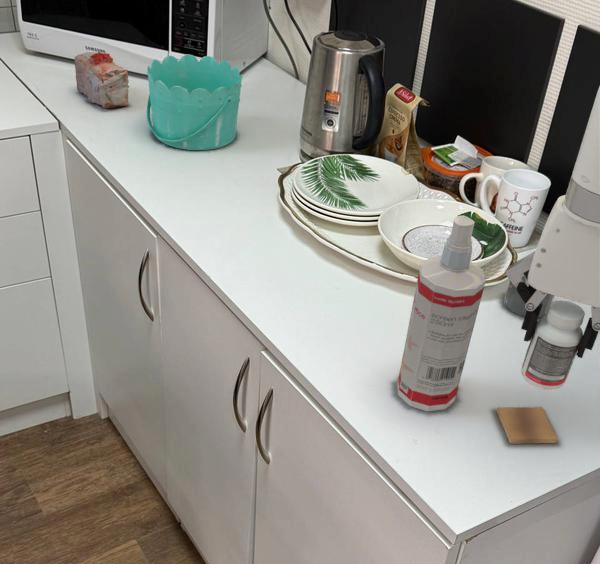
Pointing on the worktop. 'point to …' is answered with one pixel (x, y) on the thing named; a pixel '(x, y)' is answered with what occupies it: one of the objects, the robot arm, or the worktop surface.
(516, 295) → the tin
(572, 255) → the robot arm
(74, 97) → the worktop surface
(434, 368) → the spray bottle
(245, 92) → the worktop surface
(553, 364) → the pill bottle
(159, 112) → the basket
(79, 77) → the food item
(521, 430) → the brown wooden square tile
